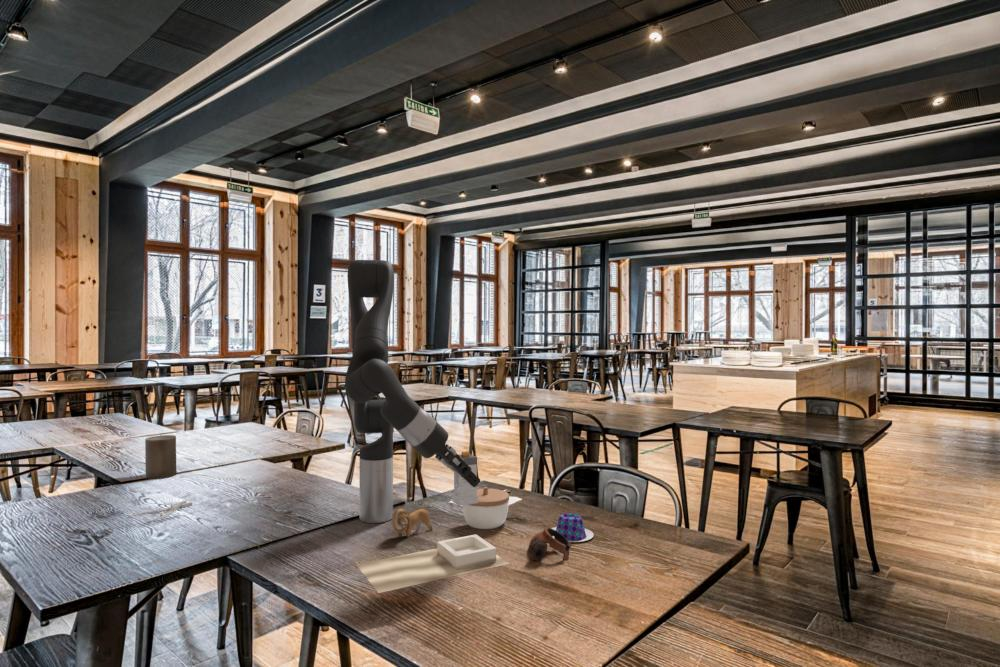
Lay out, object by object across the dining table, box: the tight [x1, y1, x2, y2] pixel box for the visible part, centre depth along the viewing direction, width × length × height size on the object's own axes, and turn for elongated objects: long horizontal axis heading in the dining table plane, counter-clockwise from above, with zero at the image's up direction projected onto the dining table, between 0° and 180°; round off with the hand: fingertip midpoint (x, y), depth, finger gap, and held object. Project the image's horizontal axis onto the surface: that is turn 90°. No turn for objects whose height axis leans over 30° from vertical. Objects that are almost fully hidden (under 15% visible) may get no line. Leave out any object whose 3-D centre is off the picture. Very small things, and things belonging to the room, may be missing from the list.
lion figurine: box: [391, 508, 433, 538], centre depth 151 cm, size 15×5×9 cm, turn 153°
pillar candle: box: [144, 434, 178, 480], centre depth 212 cm, size 10×10×15 cm
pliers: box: [128, 500, 193, 523], centre depth 171 cm, size 10×2×15 cm
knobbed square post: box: [451, 450, 478, 507], centre depth 134 cm, size 4×5×11 cm
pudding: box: [551, 512, 594, 543], centre depth 154 cm, size 12×12×5 cm
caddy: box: [436, 534, 497, 570], centre depth 135 cm, size 10×10×3 cm
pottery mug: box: [526, 527, 572, 562], centre depth 136 cm, size 12×10×8 cm
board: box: [355, 548, 510, 594], centre depth 131 cm, size 16×30×2 cm, turn 119°
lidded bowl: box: [462, 486, 510, 530], centre depth 159 cm, size 13×13×11 cm
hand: (473, 481), depth 135 cm, fingers closed on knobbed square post, 3 cm apart
